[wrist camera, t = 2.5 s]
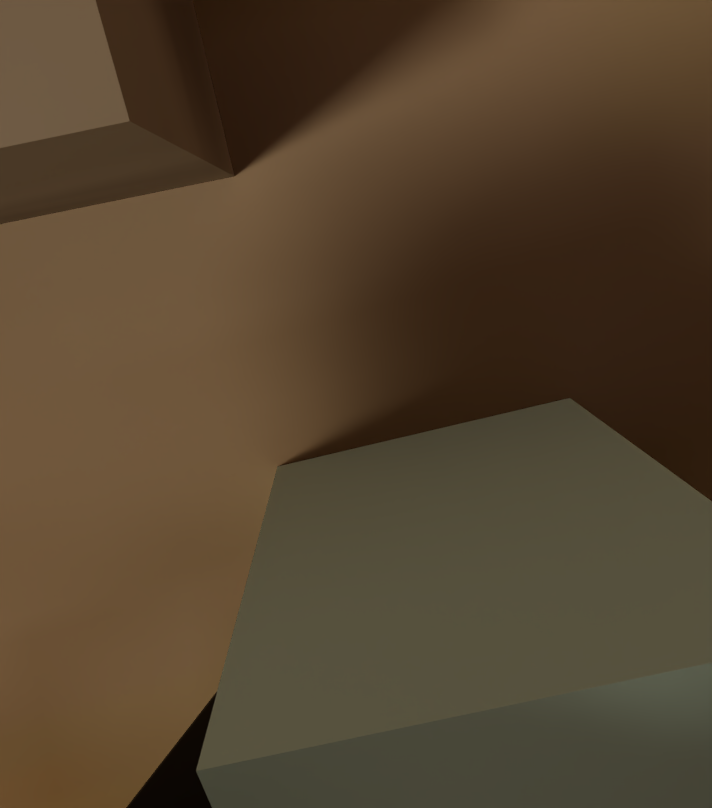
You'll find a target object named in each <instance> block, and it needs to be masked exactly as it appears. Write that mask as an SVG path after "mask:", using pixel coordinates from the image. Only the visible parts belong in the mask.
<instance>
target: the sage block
mask: <svg viewBox="0 0 712 808" xmlns="http://www.w3.org/2000/svg"><path fill="white" fill-rule="evenodd" d="M196 772H197V775H198V777H199V779H200V781H201V784H202V786H203V788H204V791H205V793H206V795H207V797H208V800H209V802H210V804H211V807H212V808H712V501H711V500H709V499H708V498H707V497H705V496H704V495H702V494H701V493H700V492H698V491H697V490H696V489H694V488H693V487H691V486H690V485H689V484H687V483H686V482H685V481H683V480H682V479H680V478H679V477H678V476H676V475H675V474H674V473H672V472H671V471H670V470H668V469H667V468H665V467H664V466H663V465H661V464H660V463H659V462H657V461H656V460H654V459H653V458H652V457H650V456H649V455H648V454H646V453H645V452H643V451H642V450H641V449H639V448H638V447H637V446H635V445H634V444H632V443H631V442H630V441H628V440H627V439H626V438H624V437H623V436H621V435H620V434H619V433H617V432H616V431H615V430H613V429H612V428H610V427H609V426H608V425H606V424H605V423H604V422H602V421H601V420H599V419H598V418H597V417H595V416H594V415H593V414H591V413H590V412H589V411H587V410H586V409H584V408H583V407H582V406H580V405H579V404H578V403H576V402H575V401H573V400H572V399H571V398H567V399H563V400H559V401H554V402H550V403H546V404H542V405H537V406H533V407H529V408H525V409H520V410H516V411H512V412H508V413H503V414H499V415H495V416H491V417H486V418H482V419H478V420H474V421H469V422H465V423H461V424H457V425H452V426H448V427H444V428H440V429H435V430H431V431H427V432H422V433H418V434H414V435H410V436H405V437H401V438H397V439H393V440H388V441H384V442H380V443H376V444H371V445H367V446H363V447H359V448H354V449H350V450H346V451H342V452H337V453H333V454H329V455H325V456H320V457H316V458H312V459H308V460H303V461H299V462H295V463H290V464H286V465H282V466H278V467H277V471H276V474H275V478H274V482H273V485H272V489H271V493H270V497H269V500H268V504H267V508H266V512H265V515H264V519H263V523H262V527H261V530H260V534H259V538H258V541H257V545H256V549H255V553H254V556H253V560H252V564H251V568H250V571H249V575H248V579H247V582H246V586H245V590H244V594H243V597H242V601H241V605H240V609H239V612H238V616H237V620H236V624H235V627H234V631H233V635H232V638H231V642H230V646H229V650H228V653H227V657H226V661H225V665H224V668H223V672H222V676H221V679H220V683H219V687H218V691H217V694H216V698H215V702H214V706H213V709H212V713H211V717H210V721H209V724H208V728H207V732H206V735H205V739H204V743H203V747H202V750H201V754H200V758H199V762H198V765H197V769H196Z"/></svg>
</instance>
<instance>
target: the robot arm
mask: <svg viewBox="0 0 712 808" xmlns="http://www.w3.org/2000/svg"><path fill="white" fill-rule="evenodd" d="M216 694H217V692H216V693H215V695H214V696H213V697H212V698H211V700H210V701H209V702H208V704H207V705H206V706H205V707H204V709H203V710H202V711H201V713H200V714H199V715H198V716H197V718H196V719H195V720H194V722H193V723H192V724H191V725H190V727H189V728H188V729H187V731H186V732H185V733H184V734H183V736H182V737H181V738H180V740H179V741H178V742H177V743H176V745H175V746H174V747H173V748H172V750H171V751H170V752H169V754H168V755H167V756H166V757H165V759H164V760H163V761H162V763H161V764H160V765H159V766H158V768H157V769H156V770H155V772H154V773H153V774H152V775H151V777H150V778H149V779H148V781H147V782H146V783H145V784H144V786H143V787H142V788H141V790H140V791H139V792H138V793H137V795H136V796H135V797H134V798H133V800H132V801H131V802H130V804H129V805H128V806H127V807H126V808H212V807H211V804H210V802H209V800H208V797H207V795H206V793H205V791H204V788H203V786H202V784H201V781H200V779H199V777H198V775H197V772H196V769H197V765H198V762H199V758H200V754H201V750H202V747H203V743H204V739H205V735H206V732H207V728H208V724H209V721H210V717H211V713H212V709H213V706H214V702H215V698H216Z"/></svg>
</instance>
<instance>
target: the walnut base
mask: <svg viewBox="0 0 712 808" xmlns="http://www.w3.org/2000/svg"><path fill="white" fill-rule="evenodd" d="M233 176H234V172H233V168H232V164H231V159H230V155H229V151H228V147H227V143H226V138H225V134H224V130H223V126H222V122H221V117H220V113H219V109H218V105H217V101H216V96H215V92H214V88H213V84H212V79H211V75H210V71H209V67H208V63H207V58H206V54H205V50H204V46H203V42H202V37H201V33H200V29H199V25H198V21H197V16H196V12H195V8H194V4H193V0H0V224H2V223H7V222H12V221H17V220H22V219H27V218H32V217H37V216H42V215H47V214H51V213H56V212H61V211H66V210H71V209H76V208H81V207H86V206H91V205H96V204H101V203H105V202H110V201H115V200H120V199H125V198H130V197H135V196H140V195H145V194H150V193H155V192H160V191H164V190H169V189H174V188H179V187H184V186H189V185H194V184H199V183H204V182H209V181H214V180H218V179H223V178H228V177H233Z"/></svg>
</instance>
